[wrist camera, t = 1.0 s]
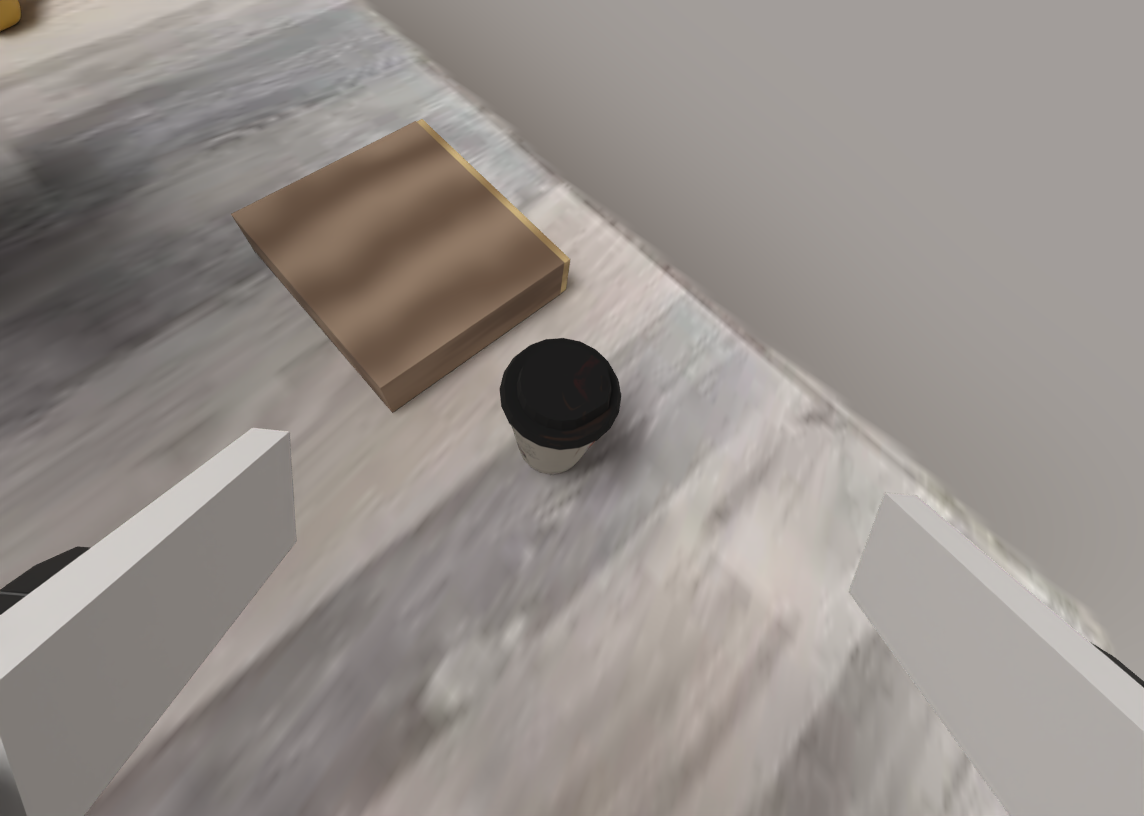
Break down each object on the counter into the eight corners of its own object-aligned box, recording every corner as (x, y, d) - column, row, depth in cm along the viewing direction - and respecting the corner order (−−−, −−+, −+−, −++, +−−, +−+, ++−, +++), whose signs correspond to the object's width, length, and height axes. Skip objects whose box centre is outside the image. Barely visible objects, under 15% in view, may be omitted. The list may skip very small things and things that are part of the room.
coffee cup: (498, 489, 38) (494, 437, 29) (505, 395, 41) (503, 322, 32) (600, 493, 38) (627, 443, 29) (599, 401, 41) (624, 330, 32)
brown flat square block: (254, 250, 43) (230, 214, 40) (428, 157, 49) (421, 117, 45) (392, 412, 39) (380, 388, 36) (565, 290, 45) (570, 258, 41)
